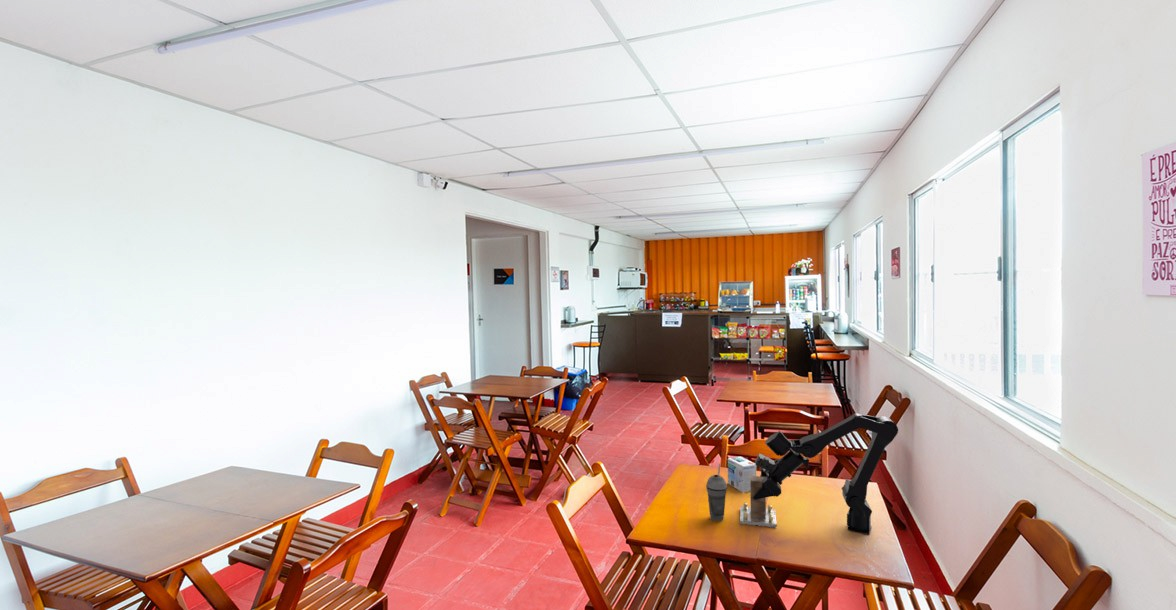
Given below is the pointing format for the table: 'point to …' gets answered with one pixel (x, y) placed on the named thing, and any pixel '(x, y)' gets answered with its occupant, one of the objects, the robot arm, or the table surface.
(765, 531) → the table surface
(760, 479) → the walnut block
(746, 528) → the table surface
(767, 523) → the plate
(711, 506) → the beverage cup
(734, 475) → the light bulb box
